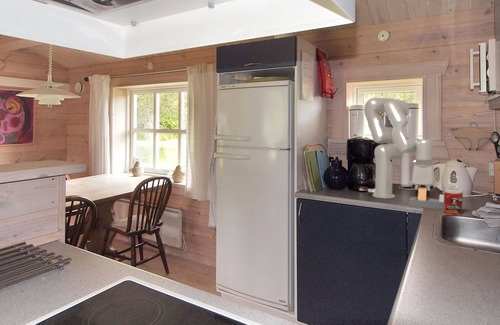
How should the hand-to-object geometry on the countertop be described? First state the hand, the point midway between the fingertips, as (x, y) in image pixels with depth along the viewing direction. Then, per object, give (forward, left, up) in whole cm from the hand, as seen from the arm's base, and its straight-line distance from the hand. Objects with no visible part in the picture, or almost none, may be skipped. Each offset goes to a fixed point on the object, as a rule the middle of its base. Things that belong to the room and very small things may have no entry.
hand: (422, 196), depth 180 cm
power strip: (+4, 0, -5) cm, 6 cm away
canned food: (+14, -10, -5) cm, 18 cm away
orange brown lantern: (0, 0, -3) cm, 3 cm away
